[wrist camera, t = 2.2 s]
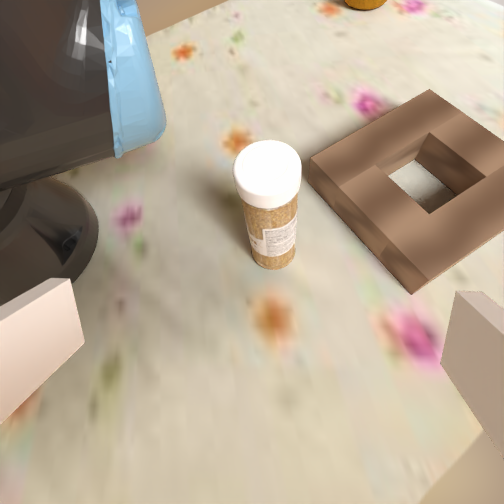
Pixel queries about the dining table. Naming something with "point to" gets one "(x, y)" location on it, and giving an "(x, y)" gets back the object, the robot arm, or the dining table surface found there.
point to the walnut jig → (400, 203)
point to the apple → (365, 4)
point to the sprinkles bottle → (269, 199)
